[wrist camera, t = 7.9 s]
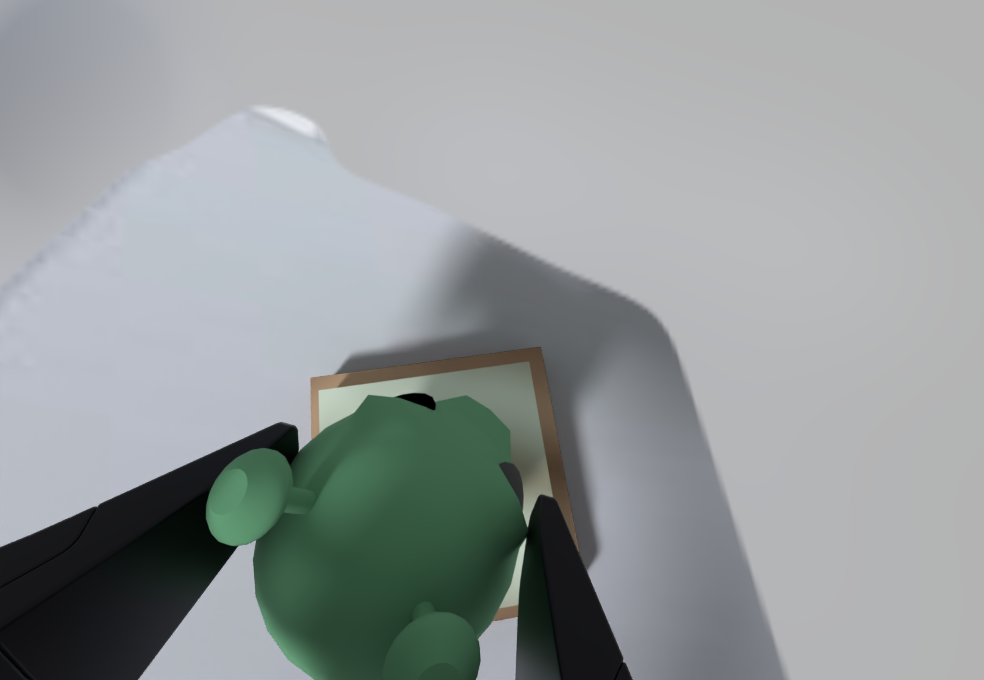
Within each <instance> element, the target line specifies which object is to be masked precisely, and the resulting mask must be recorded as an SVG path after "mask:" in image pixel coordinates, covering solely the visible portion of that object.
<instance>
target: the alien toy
mask: <svg viewBox="0 0 984 680" xmlns="http://www.w3.org/2000/svg"><path fill="white" fill-rule="evenodd" d="M523 502H524V492H523V482H522V479H521V475H520V472H519V470H518V469H517V468H516V466H515V465H514V464H513V463H511V444H510V430H509V429H508V428H507V427H506V426H505V425H504V423H503V422H502V421H501V420H500V419H499V418H498V417H497V416H496V415H495V414H494V413H493V412H492V411H491V410H490V409H488V408H487V407H485V406H484V405H482V404H480V403H479V402H477V401H475V400H474V399H472V398H470V397H469V396H467V395H464V396H460V397H455V398H451V399H446V400H441V401H437V402H435V401H434V399H433V397H432V396H429V395H427V394H425V393H408V394H402V395H399V396H396V397H386V396H377V395H368V396H367V397H366V398H365V400H364V401H363V402H362V403H361V405H360V406H359V407H358V408H357V410H356V411H355V412H354V413H353V414H351V415H349V416H347V417H345V418H343V419H341V420H339V421H337V422H335V423H334V424H332V425H330V426H328V427H326V428H325V429H324V430H323V431H321V432H320V433H319V434H318V435H317V436H316V437H315V438H313V439H312V440H311V441H310V442H309V443H308V444H307V445H306V446H304V447H303V448H302V449H301V450H300V451H299V452H298V454H297V455H296V456H295V458H294V459H293V461H292V463H291V464H290V466H289V464H288V462H287V460H286V458H285V457H284V456H283V455H282V454H281V453H279V452H278V451H275V450H271V449H266V448H260V449H254V450H250V451H249V452H247V453H245V454H243V455H241V456H239V457H237V458H236V459H234V460H233V461H232V462H231V463H230V464H229V465H227V466H226V467H225V468H224V470H223V471H222V472H221V474H220V475H219V476H218V477H217V479H216V480H215V482H214V484H213V486H212V488H211V490H210V493H209V497H208V500H207V504H206V520H207V523H208V526H209V529H210V532H211V534H212V535H213V536H214V537H215V538H216V539H217V540H218V541H219V542H221V543H224V544H227V545H231V546H239V545H247V544H249V543H251V542H253V541H255V540H256V545H255V551H254V557H253V565H254V580H255V594H256V598H257V601H258V604H259V607H260V610H261V613H262V616H263V619H264V622H265V625H266V628H267V631H268V632H269V633H270V635H271V636H272V638H273V639H274V640H275V642H276V643H277V645H278V646H279V648H280V649H281V650H282V652H283V653H284V655H285V656H286V658H287V659H288V660H289V661H291V662H292V663H293V664H294V665H296V666H297V667H298V668H300V669H301V670H302V671H304V672H305V673H306V674H308V675H309V676H310V677H312V678H313V679H314V680H476V678H477V675H478V670H479V665H480V661H481V660H480V645H479V641H478V638H479V637H480V636H481V635H482V633H483V632H484V631H485V630H486V629H487V628H488V627H489V625H490V624H491V622H492V621H493V619H494V617H495V615H496V613H497V611H498V609H499V607H500V605H501V603H502V601H503V599H504V597H505V595H506V593H507V592H508V590H509V588H510V586H511V582H512V578H513V574H514V570H515V565H516V561H517V557H518V553H519V548H520V547H521V545H522V544H523V542H524V541H525V539H526V537H527V535H528V533H529V530H528V527H527V524H526V521H525V517H524V514H523Z"/></svg>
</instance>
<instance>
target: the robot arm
mask: <svg viewBox="0 0 984 680" xmlns="http://www.w3.org/2000/svg"><path fill="white" fill-rule="evenodd" d="M260 448H266V449H271V450H275V451H278V452H279V453H281V454H282V455H283V456H284V457H285V458H286V460H287V462H288V464H289V466H290V464H291V463H292V461H293V459H294V458H295V456H296V455H297V454H298V451H299V442H298V429H297V427H296V426H294V425H291V424H287V423H284V422H279V423H276V424H274V425H272V426H270V427H267V428H265V429H263V430H261V431H259V432H256V433H254V434H252V435H250V436H248V437H245V438H243V439H241V440H239V441H237V442H234V443H232V444H230V445H228V446H226V447H224V448H221V449H219V450H217V451H215V452H213V453H210V454H208V455H206V456H204V457H202V458H199V459H197V460H195V461H193V462H191V463H188V464H186V465H184V466H182V467H180V468H178V469H175V470H173V471H171V472H169V473H167V474H164V475H162V476H160V477H158V478H156V479H153V480H151V481H149V482H147V483H145V484H142V485H140V486H138V487H136V488H134V489H132V490H129V491H127V492H125V493H123V494H121V495H118V496H116V497H114V498H112V499H110V500H107V501H105V502H103V503H101V504H99V505H98V507H92V508H90V509H87V510H85V511H83V512H81V513H79V514H76V515H74V516H72V517H70V518H68V519H65V520H63V521H61V522H59V523H56V524H54V525H52V526H49V527H47V528H45V529H43V530H40V531H38V532H36V533H34V534H31V535H29V536H26V537H24V538H22V539H19V540H17V541H14V542H12V543H9V544H7V545H4V546H2V547H0V680H138V679H139V678H140V676H141V675H142V674H143V672H144V671H145V670H146V668H147V667H148V666H149V664H150V663H151V662H152V660H153V659H154V658H155V656H156V655H157V654H158V652H159V651H160V650H161V648H162V647H163V646H164V644H165V643H166V642H167V640H168V639H169V638H170V636H171V635H172V634H173V632H174V631H175V630H176V628H177V627H178V626H179V624H180V623H181V622H182V620H183V619H184V618H185V616H186V615H187V614H188V612H189V611H190V610H191V608H192V607H193V606H194V604H195V603H196V602H197V600H198V599H199V598H200V596H201V595H202V594H203V592H204V591H205V590H206V588H207V587H208V586H209V584H210V583H211V582H212V580H213V579H214V578H215V576H216V575H217V574H218V572H219V571H220V570H221V568H222V567H223V566H224V564H225V563H226V562H227V560H228V559H229V558H230V556H231V555H232V554H233V552H234V551H235V550H236V548H237V547H238V546H231V545H227V544H224V543H221V542H219V541H218V540H217V539H216V538H215V537H214V536H213V535H212V534H211V532H210V529H209V526H208V523H207V520H206V504H207V500H208V497H209V493H210V490H211V488H212V486H213V484H214V482H215V480H216V479H217V477H218V476H219V475H220V474H221V472H222V471H223V470H224V468H225V467H226V466H227V465H229V464H230V463H231V462H232V461H233V460H234V459H236V458H237V457H239V456H241V455H243V454H245V453H247V452H249V451H250V450H254V449H260ZM528 530H529V533H528V535H527V537H526V544H525V551H524V558H523V564H522V571H521V578H520V587H519V600H518V626H517V652H516V679H515V680H633V679H632V677H631V675H630V672H629V670H628V667H627V665H626V663H624V662H623V656H622V654H621V651H620V649H619V646H618V644H617V642H616V639H615V637H614V635H613V632H612V630H611V628H610V625H609V623H608V620H607V618H606V616H605V613H604V611H603V609H602V606H601V604H600V602H599V599H598V597H597V594H596V592H595V590H594V587H593V585H592V583H591V580H590V578H589V575H588V573H587V571H586V568H585V566H584V564H583V561H582V559H581V557H580V554H579V552H578V549H577V547H576V545H575V542H574V540H573V538H572V535H571V533H570V531H569V528H568V526H567V523H566V521H565V519H564V516H563V514H562V512H561V509H560V507H559V505H558V502H557V500H556V499H555V498H553V497H550V496H546V495H543V494H541V495H539V496H538V498H537V500H536V503H535V505H534V508H533V510H532V513H531V515H530V519H529V524H528ZM622 662H623V663H622Z"/></svg>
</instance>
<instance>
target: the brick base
mask: <svg viewBox="0 0 984 680" xmlns="http://www.w3.org/2000/svg"><path fill="white" fill-rule="evenodd" d="M408 393H425V394H427V395H429V396H432V397H433V399H434V401H435V402H437V401H441V400H446V399H451V398H455V397H460V396H464V395H467V396H469V397H470V398H472V399H474V400H475V401H477V402H479V403H480V404H482V405H484V406H485V407H487V408H488V409H490V410H491V411H492V412H493V413H494V414H495V415H496V416H497V417H498V418H499V419H500V420H501V421H502V422H503V423H504V425H505V426H506V427H507V428H508V429H509V430H510V444H511V463H513V464H514V465H515V466H516V468H517V469H518V470H519V472H520V475H521V479H522V482H523V492H524V502H523V514H524V517H525V521H526V524H527V527H528V524H529V519H530V515H531V513H532V510H533V508H534V505H535V503H536V500H537V498H538V496H539V495H541V494H543V495H546V496H550V497H553V498H555V499H556V500H557V502H558V505H559V507H560V509H561V512H562V514H563V516H564V519H565V521H566V523H567V526H568V528H569V531H570V533H571V535H572V538H573V540H574V542H575V545H576V547H577V549H578V543H577V538H576V533H575V527H574V522H573V516H572V511H571V506H570V500H569V495H568V490H567V484H566V479H565V473H564V468H563V463H562V457H561V452H560V447H559V441H558V436H557V430H556V425H555V420H554V414H553V409H552V404H551V398H550V393H549V387H548V382H547V377H546V371H545V366H544V361H543V355H542V350H541V347H535V348H527V349H520V350H513V351H505V352H498V353H490V354H483V355H476V356H468V357H461V358H453V359H446V360H439V361H431V362H424V363H416V364H409V365H402V366H394V367H387V368H379V369H372V370H365V371H357V372H350V373H343V374H335V375H328V376H320V377H313V378H311V436H312V439H313V438H315V437H316V436H317V435H318V434H319V433H320V432H321V431H323V430H324V429H325V428H326V427H328V426H330V425H332V424H334V423H335V422H337V421H339V420H341V419H343V418H345V417H347V416H349V415H351V414H353V413H354V412H355V411H356V410H357V408H358V407H359V406H360V405H361V403H362V402H363V401H364V400H365V398H366V397H367V396H368V395H377V396H386V397H396V396H399V395H402V394H408ZM525 544H526V539H525V541H524V542H523V544H522V545H521V547H520V548H519V553H518V557H517V561H516V565H515V570H514V574H513V578H512V582H511V586H510V588H509V590H508V592H507V593H506V595H505V597H504V599H503V601H502V603H501V605H500V607H499V609H498V611H497V613H496V615H495V617H494V619H493V621H498V620H503V619H509V618H514V617H518V600H519V587H520V578H521V571H522V564H523V558H524V551H525ZM578 552H579V549H578Z"/></svg>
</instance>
